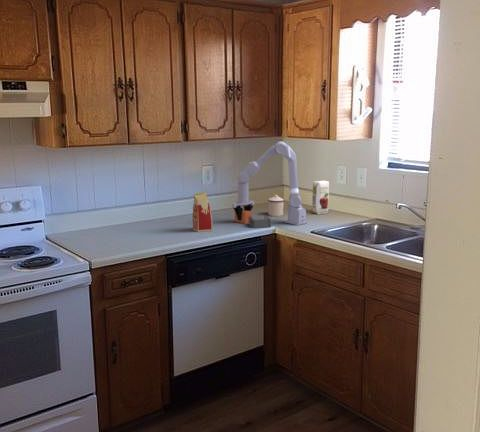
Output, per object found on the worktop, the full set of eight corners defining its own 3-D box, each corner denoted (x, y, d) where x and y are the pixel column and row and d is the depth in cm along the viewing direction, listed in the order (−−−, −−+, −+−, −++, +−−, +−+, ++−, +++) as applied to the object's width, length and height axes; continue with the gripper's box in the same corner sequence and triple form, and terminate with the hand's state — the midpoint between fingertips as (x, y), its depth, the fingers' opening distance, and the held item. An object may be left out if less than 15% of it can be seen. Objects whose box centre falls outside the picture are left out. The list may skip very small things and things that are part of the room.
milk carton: (207, 227, 274) (207, 188, 270) (213, 230, 265) (212, 191, 261) (190, 228, 271) (189, 189, 267) (195, 232, 262) (195, 192, 258)
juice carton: (310, 212, 312) (311, 180, 308) (322, 211, 316) (323, 180, 312) (317, 215, 306) (318, 182, 302) (329, 213, 309) (331, 181, 305)
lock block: (251, 222, 286) (251, 210, 284) (244, 223, 282) (245, 212, 281) (241, 220, 291) (241, 208, 290) (234, 221, 288) (234, 209, 287)
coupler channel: (270, 227, 274) (270, 219, 273) (251, 227, 272) (251, 220, 272) (266, 223, 283) (266, 215, 282) (248, 223, 282) (248, 216, 281)
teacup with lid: (286, 215, 304) (287, 195, 302) (273, 217, 300) (273, 196, 298) (275, 211, 315) (275, 192, 312) (262, 213, 310) (262, 193, 308)
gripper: (247, 192, 292) (247, 216, 294) (228, 194, 282) (228, 219, 285) (256, 193, 287) (256, 218, 289) (237, 196, 277) (237, 221, 280)
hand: (243, 219), depth 287 cm, fingers closed on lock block, 5 cm apart
